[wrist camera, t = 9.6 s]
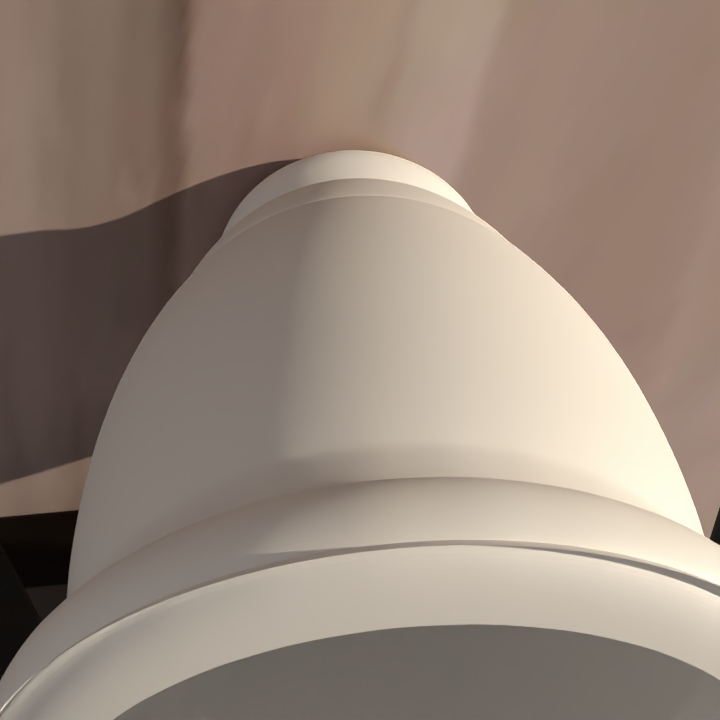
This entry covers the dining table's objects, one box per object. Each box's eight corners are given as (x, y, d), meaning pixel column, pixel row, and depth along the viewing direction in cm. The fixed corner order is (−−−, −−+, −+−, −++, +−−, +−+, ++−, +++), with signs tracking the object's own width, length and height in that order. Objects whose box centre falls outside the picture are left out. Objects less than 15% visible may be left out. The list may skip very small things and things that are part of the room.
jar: (582, 301, 21) (956, 832, 9) (337, 462, 25) (362, 1018, 12) (380, 16, 17) (582, 318, 4) (106, 263, 20) (-243, 852, 7)
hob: (266, 492, 25) (259, 570, 22) (305, 684, 33) (304, 763, 29) (-157, 531, 25) (-222, 616, 22) (-24, 715, 32) (-59, 798, 29)
